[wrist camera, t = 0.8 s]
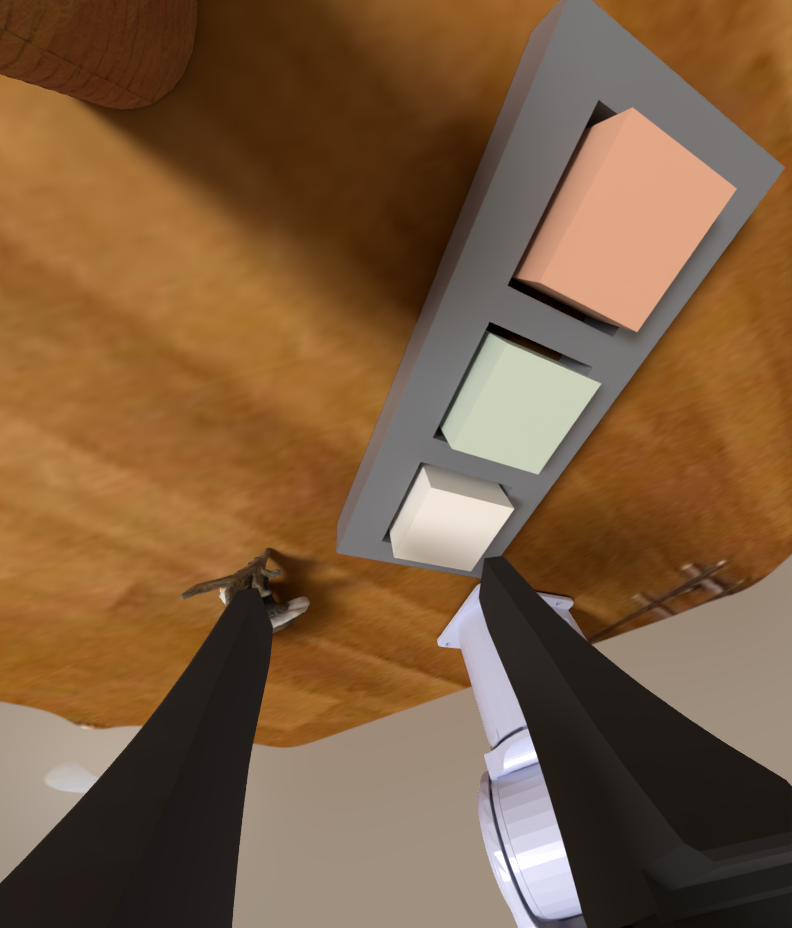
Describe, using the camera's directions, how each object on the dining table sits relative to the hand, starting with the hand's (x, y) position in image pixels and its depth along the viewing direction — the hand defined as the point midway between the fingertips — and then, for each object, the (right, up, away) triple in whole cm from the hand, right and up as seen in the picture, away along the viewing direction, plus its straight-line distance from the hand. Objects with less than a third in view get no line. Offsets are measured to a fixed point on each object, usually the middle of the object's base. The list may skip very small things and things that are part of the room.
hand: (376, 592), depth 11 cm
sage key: (+6, +8, +6) cm, 11 cm away
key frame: (+6, +8, +7) cm, 12 cm away
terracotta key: (+8, +13, +3) cm, 16 cm away
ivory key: (+3, +2, +9) cm, 10 cm away
